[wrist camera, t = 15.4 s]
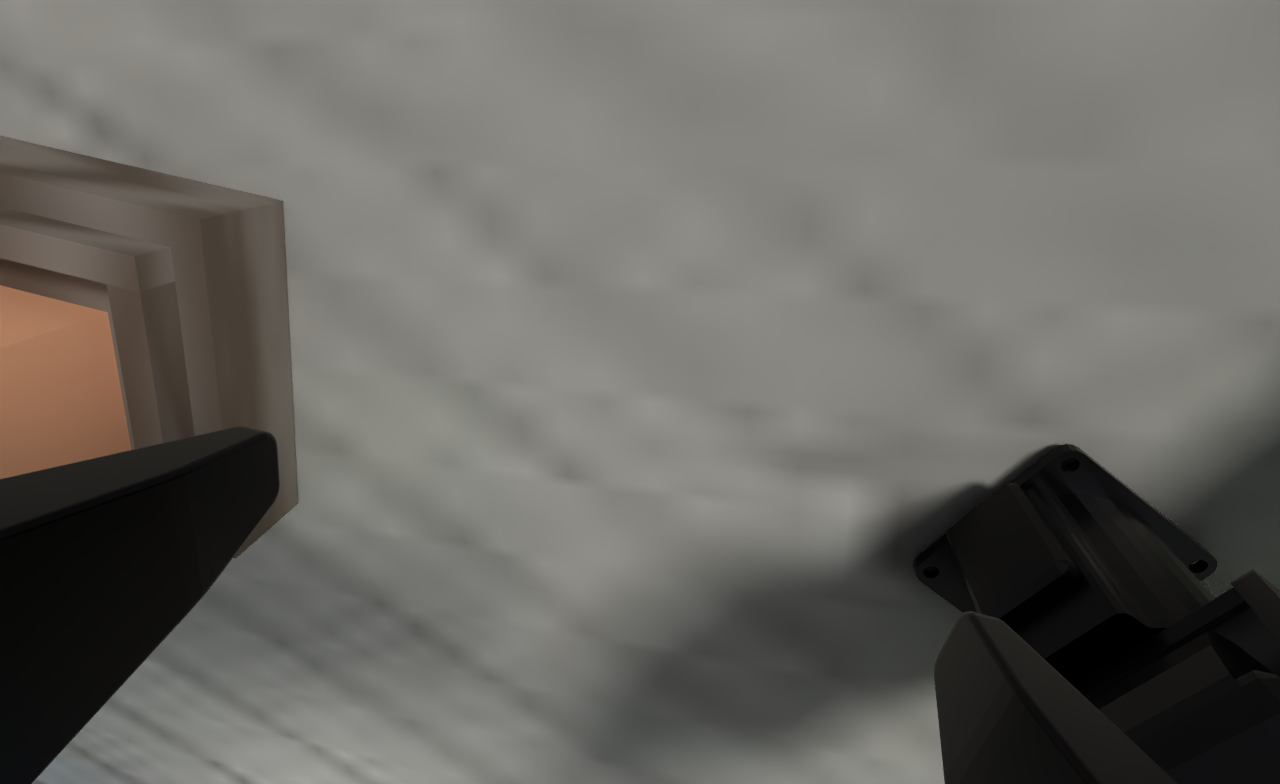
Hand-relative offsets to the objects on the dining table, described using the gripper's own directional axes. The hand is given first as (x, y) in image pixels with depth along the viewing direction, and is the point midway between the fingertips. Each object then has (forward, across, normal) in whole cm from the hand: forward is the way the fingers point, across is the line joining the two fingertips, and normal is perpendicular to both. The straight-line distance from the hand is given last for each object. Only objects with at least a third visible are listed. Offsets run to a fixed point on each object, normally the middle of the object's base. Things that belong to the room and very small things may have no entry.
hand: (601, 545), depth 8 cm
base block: (+13, +20, +6) cm, 24 cm away
